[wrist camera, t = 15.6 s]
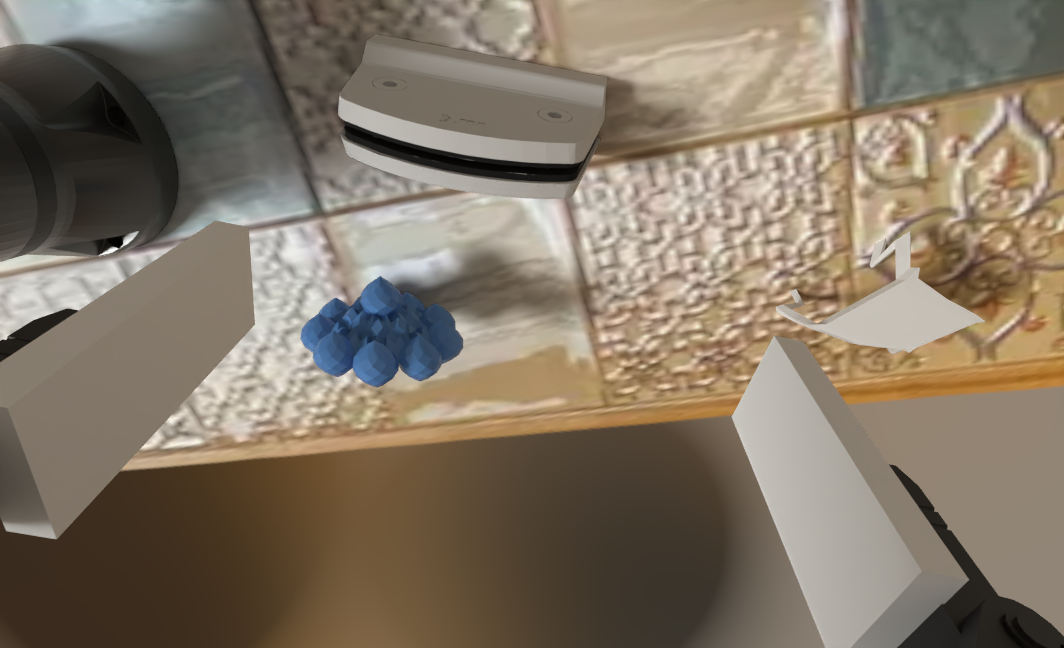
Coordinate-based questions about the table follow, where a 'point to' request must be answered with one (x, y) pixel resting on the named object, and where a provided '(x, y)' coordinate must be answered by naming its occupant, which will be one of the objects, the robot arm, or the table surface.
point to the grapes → (382, 336)
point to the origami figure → (891, 309)
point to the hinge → (471, 119)
